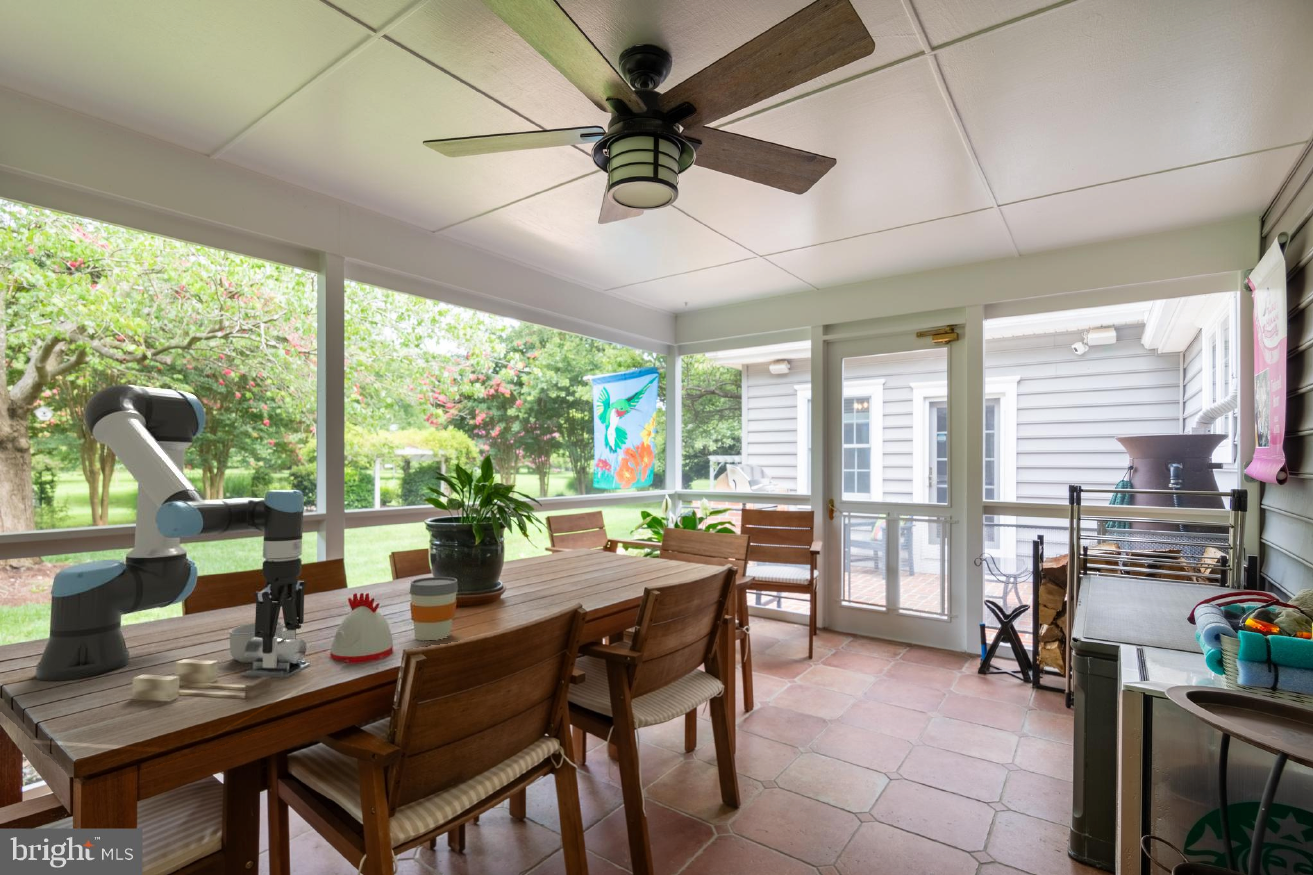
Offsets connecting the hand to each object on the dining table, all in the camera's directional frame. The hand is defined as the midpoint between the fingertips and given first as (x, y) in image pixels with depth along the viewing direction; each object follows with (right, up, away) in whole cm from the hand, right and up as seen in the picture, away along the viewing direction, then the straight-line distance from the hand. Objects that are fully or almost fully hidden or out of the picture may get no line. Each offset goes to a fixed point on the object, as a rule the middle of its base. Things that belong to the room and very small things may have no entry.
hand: (278, 662), depth 135 cm
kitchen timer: (+12, -3, +14) cm, 19 cm away
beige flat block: (-7, -2, -13) cm, 14 cm away
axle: (-1, 0, 0) cm, 1 cm away
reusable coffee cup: (+23, -4, +30) cm, 38 cm away
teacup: (-11, -3, +10) cm, 15 cm away
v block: (0, -2, 0) cm, 2 cm away
